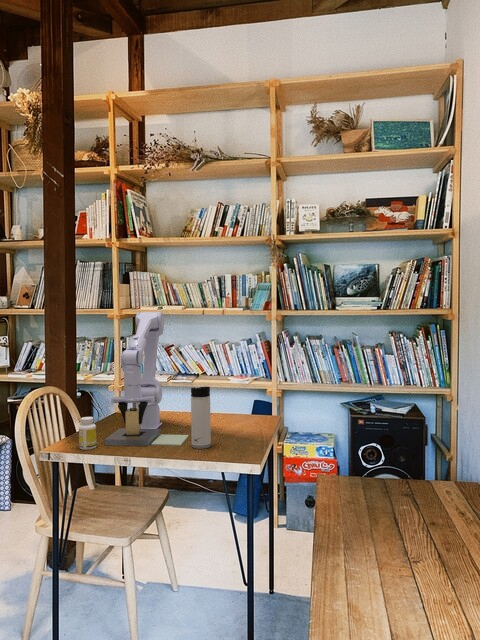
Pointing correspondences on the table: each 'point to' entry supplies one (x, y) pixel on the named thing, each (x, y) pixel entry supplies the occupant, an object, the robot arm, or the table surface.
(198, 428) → the travel mug
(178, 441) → the mat
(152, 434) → the square plate with hole
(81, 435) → the supplement bottle
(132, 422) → the end cover
